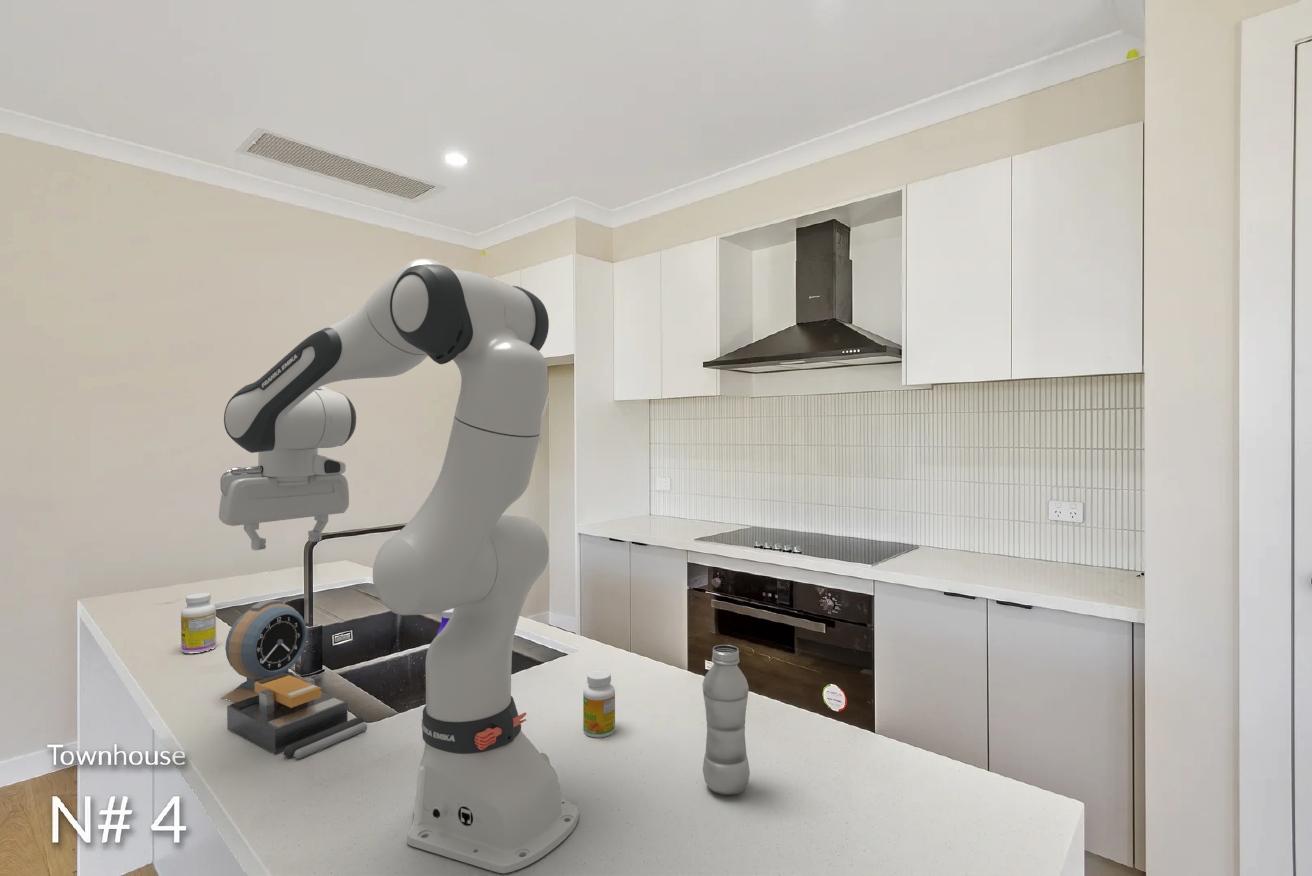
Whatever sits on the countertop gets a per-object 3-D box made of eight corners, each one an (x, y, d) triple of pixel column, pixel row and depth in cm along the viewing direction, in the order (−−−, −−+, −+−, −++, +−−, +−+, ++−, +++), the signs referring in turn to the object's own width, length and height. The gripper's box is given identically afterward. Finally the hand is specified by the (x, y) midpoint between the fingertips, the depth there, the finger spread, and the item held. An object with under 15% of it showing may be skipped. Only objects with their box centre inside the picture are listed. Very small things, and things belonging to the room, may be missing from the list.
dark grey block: (347, 725, 111) (347, 683, 111) (275, 755, 101) (274, 709, 100) (298, 703, 119) (298, 665, 119) (227, 729, 109) (226, 687, 109)
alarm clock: (252, 709, 117) (250, 613, 117) (214, 701, 121) (213, 608, 120) (317, 680, 131) (316, 594, 130) (282, 674, 134) (281, 590, 134)
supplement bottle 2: (576, 731, 108) (576, 674, 108) (600, 720, 112) (600, 665, 112) (598, 741, 105) (597, 683, 104) (621, 730, 109) (621, 673, 108)
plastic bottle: (738, 807, 86) (738, 660, 86) (694, 792, 90) (694, 651, 90) (757, 784, 92) (757, 646, 92) (714, 771, 95) (714, 638, 95)
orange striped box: (321, 697, 109) (321, 686, 109) (291, 707, 105) (290, 696, 104) (284, 682, 115) (284, 672, 115) (254, 691, 111) (254, 681, 111)
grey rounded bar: (358, 725, 111) (358, 715, 111) (369, 730, 109) (369, 719, 109) (281, 757, 100) (281, 746, 100) (292, 763, 98) (292, 751, 98)
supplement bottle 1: (185, 647, 150) (184, 593, 150) (219, 643, 153) (218, 590, 153) (178, 657, 144) (177, 600, 144) (213, 652, 147) (212, 597, 147)
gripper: (230, 469, 99) (229, 558, 99) (354, 463, 116) (353, 538, 117) (211, 466, 102) (211, 552, 103) (334, 461, 119) (333, 534, 120)
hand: (287, 545), depth 110 cm, fingers open, 8 cm apart
